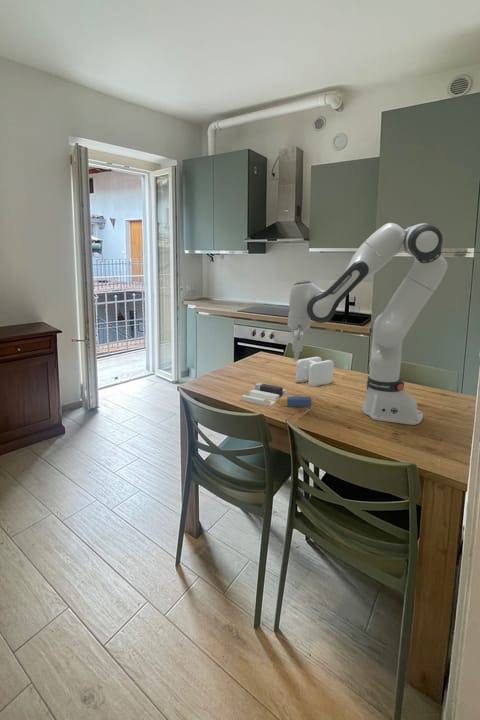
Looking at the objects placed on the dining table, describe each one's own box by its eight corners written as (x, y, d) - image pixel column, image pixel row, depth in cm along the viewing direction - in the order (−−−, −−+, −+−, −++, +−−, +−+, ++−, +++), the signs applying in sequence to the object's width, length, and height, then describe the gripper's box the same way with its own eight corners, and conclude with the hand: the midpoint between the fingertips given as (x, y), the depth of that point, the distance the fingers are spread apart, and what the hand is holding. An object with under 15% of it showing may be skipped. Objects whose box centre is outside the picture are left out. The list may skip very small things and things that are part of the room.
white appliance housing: (285, 396, 177) (286, 389, 176) (269, 408, 164) (269, 401, 163) (259, 391, 184) (260, 384, 183) (241, 402, 171) (241, 395, 170)
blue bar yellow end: (309, 406, 167) (309, 396, 166) (310, 408, 164) (310, 399, 163) (280, 405, 167) (280, 396, 166) (280, 408, 164) (281, 399, 163)
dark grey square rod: (282, 396, 175) (282, 387, 174) (279, 398, 173) (279, 389, 172) (258, 391, 181) (258, 382, 180) (254, 393, 179) (255, 384, 178)
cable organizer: (308, 388, 187) (310, 364, 184) (294, 382, 196) (295, 359, 193) (333, 383, 194) (334, 360, 191) (318, 377, 203) (319, 355, 200)
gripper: (308, 329, 148) (304, 365, 152) (306, 318, 168) (303, 350, 172) (290, 328, 149) (287, 363, 153) (290, 317, 168) (288, 349, 172)
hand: (295, 356), depth 163 cm, fingers open, 8 cm apart
